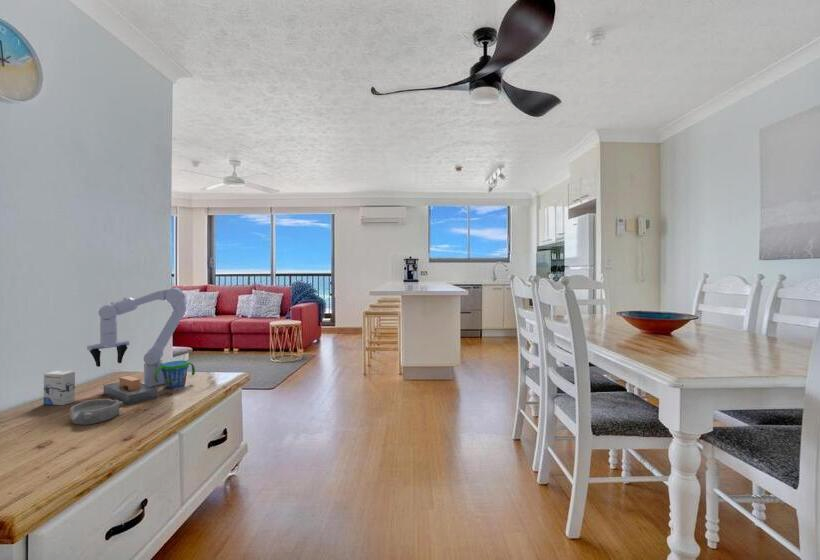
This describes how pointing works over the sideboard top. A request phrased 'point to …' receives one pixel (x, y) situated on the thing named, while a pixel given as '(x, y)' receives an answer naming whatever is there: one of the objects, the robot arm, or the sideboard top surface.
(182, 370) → the snack cup
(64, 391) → the ink box
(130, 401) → the grey slotted block
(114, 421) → the sideboard top surface
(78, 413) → the dish
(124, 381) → the tan rectangular block
